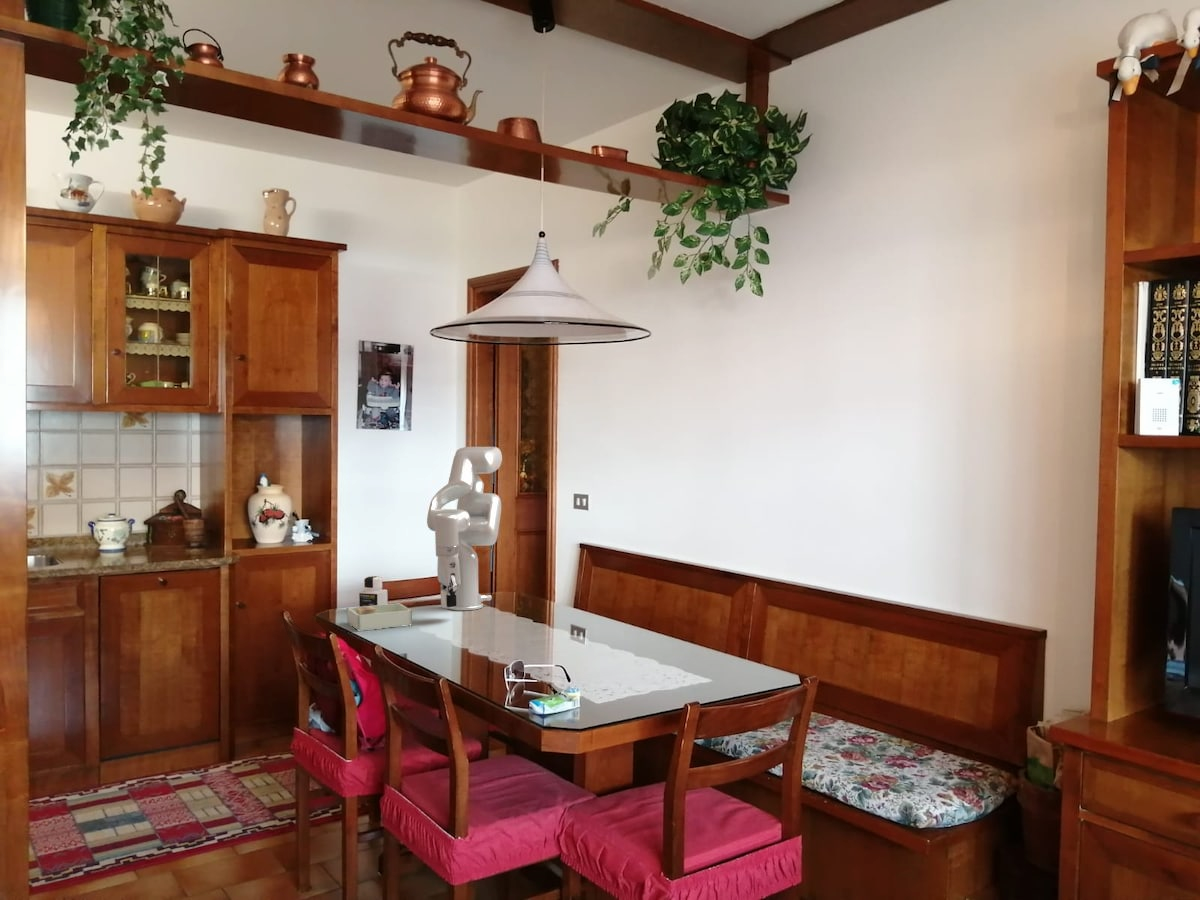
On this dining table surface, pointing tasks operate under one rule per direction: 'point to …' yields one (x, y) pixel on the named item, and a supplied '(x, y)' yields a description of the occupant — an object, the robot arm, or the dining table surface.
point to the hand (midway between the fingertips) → (448, 604)
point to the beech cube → (365, 610)
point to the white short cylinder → (444, 598)
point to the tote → (380, 617)
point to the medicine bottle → (373, 592)
